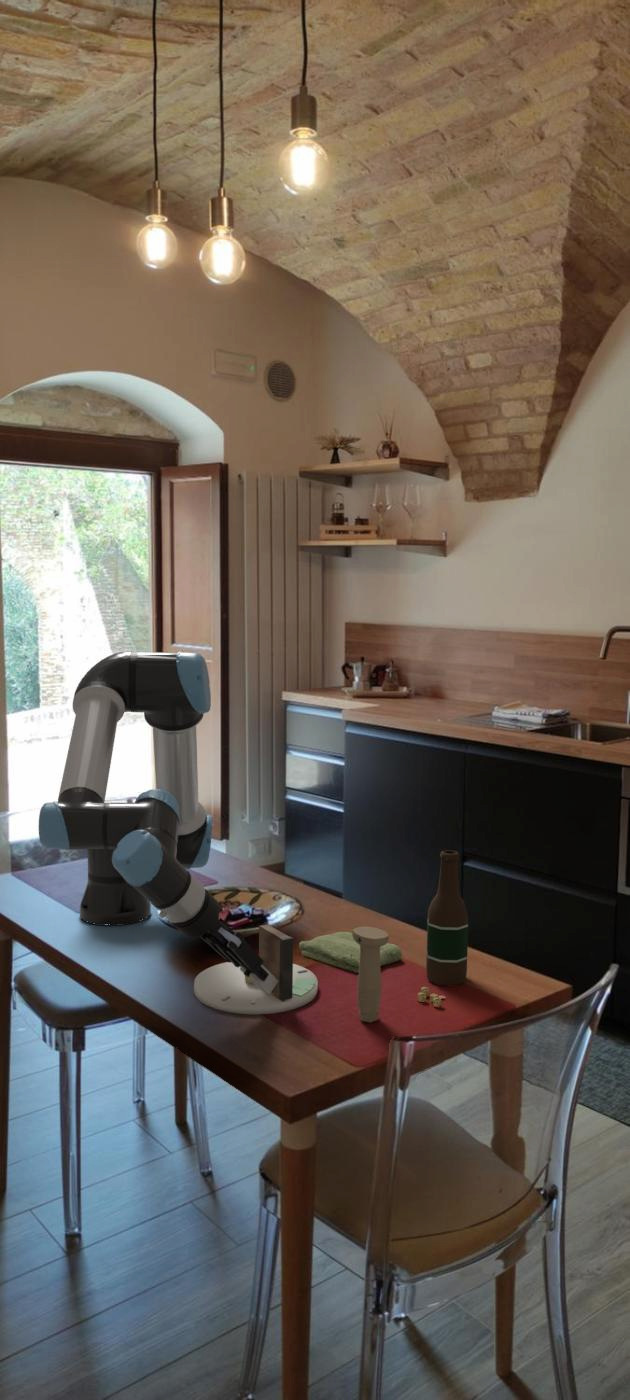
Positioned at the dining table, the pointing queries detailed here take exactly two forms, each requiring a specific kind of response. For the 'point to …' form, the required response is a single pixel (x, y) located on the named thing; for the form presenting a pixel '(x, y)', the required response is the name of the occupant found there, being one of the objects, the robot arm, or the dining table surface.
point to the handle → (369, 971)
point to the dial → (250, 991)
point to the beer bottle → (447, 927)
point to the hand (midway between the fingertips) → (269, 985)
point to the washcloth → (344, 951)
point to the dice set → (433, 997)
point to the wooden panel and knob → (277, 959)
